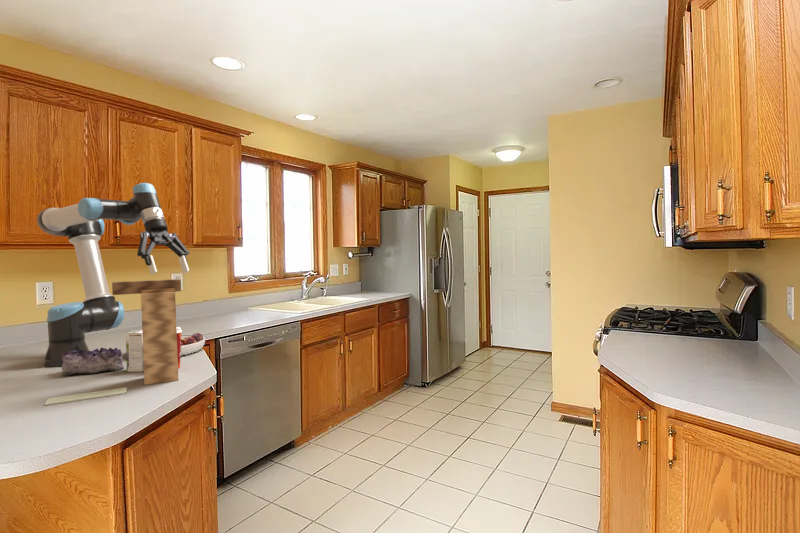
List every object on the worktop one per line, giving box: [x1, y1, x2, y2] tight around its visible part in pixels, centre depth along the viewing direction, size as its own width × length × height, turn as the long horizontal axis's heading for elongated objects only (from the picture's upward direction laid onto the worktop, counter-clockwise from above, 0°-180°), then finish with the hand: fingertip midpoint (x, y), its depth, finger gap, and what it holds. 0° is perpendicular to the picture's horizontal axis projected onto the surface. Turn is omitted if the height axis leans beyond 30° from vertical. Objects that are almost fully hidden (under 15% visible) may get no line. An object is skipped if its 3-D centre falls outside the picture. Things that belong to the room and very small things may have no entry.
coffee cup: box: [176, 326, 183, 369], centre depth 167 cm, size 8×8×15 cm
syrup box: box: [125, 329, 144, 373], centre depth 165 cm, size 6×6×14 cm
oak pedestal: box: [140, 288, 179, 386], centre depth 153 cm, size 10×10×31 cm
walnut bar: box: [111, 278, 182, 296], centre depth 151 cm, size 20×4×4 cm, turn 119°
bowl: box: [180, 332, 206, 357], centre depth 193 cm, size 30×30×8 cm
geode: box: [61, 347, 125, 376], centre depth 164 cm, size 20×12×10 cm, turn 109°
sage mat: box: [44, 387, 128, 406], centre depth 136 cm, size 20×6×1 cm, turn 119°
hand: (170, 272), depth 167 cm, fingers open, 13 cm apart
